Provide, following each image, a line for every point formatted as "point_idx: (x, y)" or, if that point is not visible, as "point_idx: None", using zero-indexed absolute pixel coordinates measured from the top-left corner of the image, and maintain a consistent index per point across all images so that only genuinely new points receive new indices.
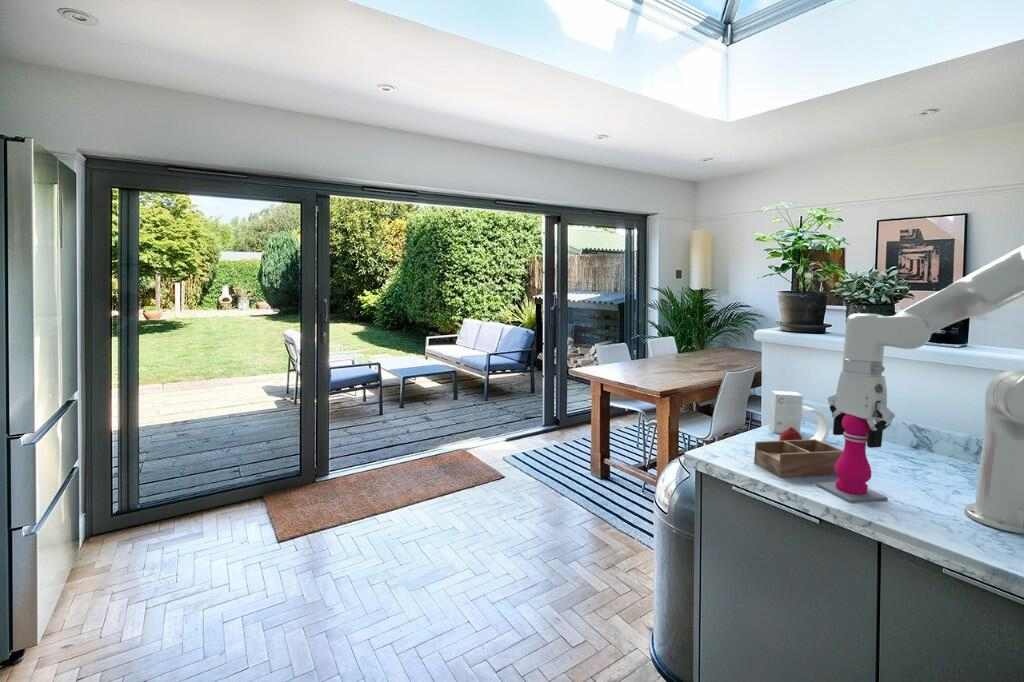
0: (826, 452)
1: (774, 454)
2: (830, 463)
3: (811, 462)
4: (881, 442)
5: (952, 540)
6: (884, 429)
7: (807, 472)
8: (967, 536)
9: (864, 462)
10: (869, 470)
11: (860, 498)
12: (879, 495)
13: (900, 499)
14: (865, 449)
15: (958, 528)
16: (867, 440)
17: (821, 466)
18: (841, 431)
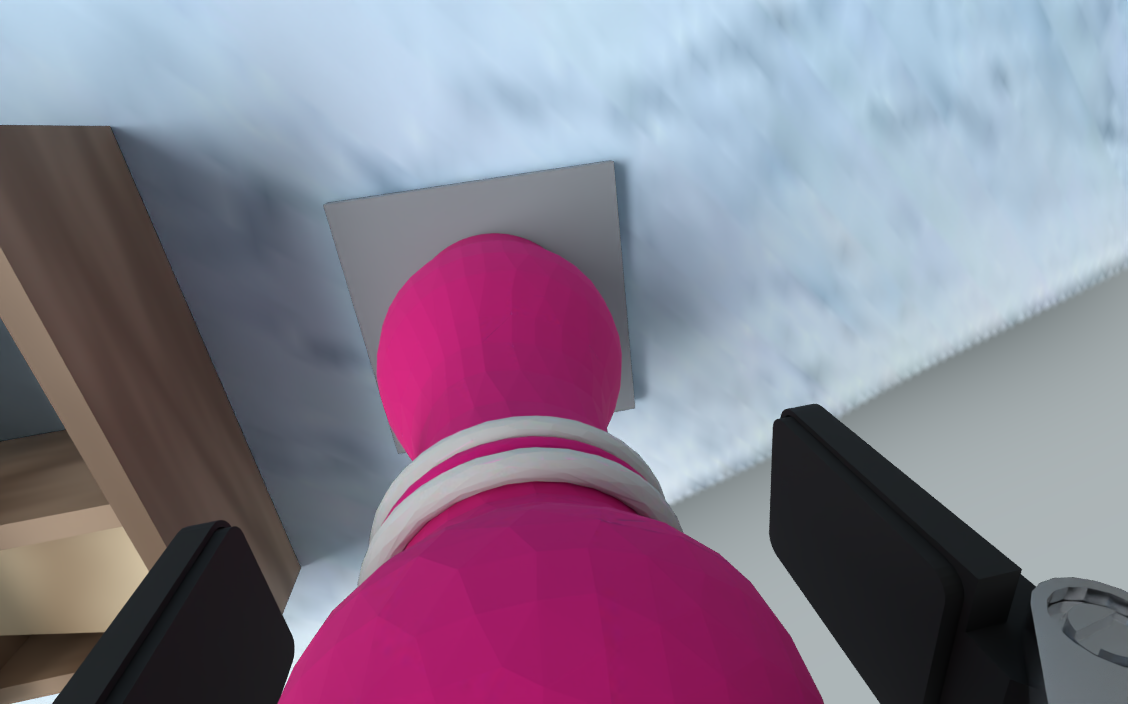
0: (71, 373)
1: (9, 600)
2: (116, 286)
3: (183, 453)
4: (844, 428)
5: (1036, 203)
6: (1118, 613)
7: (228, 436)
8: (1041, 86)
9: (609, 381)
10: (608, 318)
11: (622, 341)
12: (584, 195)
13: (605, 57)
14: (585, 404)
15: (976, 46)
16: (811, 599)
17: (165, 357)
18: (249, 621)
